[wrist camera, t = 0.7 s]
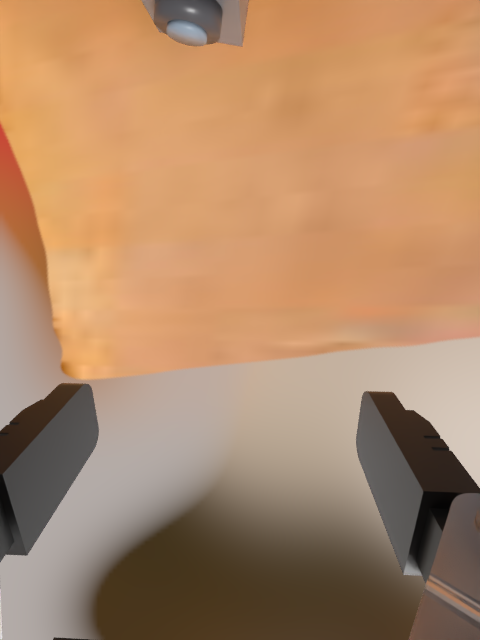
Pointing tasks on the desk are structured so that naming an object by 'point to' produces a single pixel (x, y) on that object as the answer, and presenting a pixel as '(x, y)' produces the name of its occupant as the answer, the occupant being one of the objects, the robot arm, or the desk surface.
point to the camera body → (200, 20)
